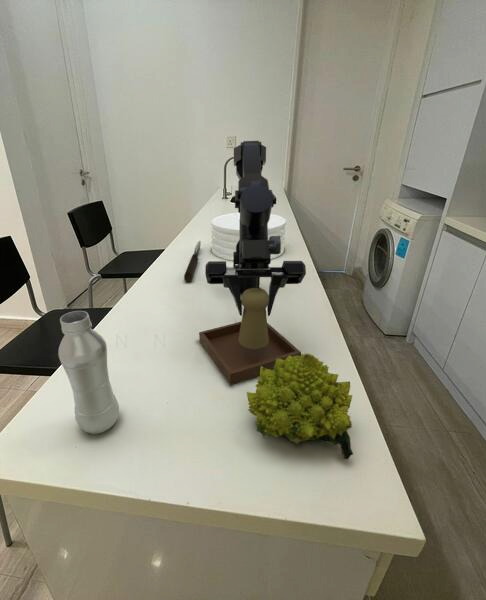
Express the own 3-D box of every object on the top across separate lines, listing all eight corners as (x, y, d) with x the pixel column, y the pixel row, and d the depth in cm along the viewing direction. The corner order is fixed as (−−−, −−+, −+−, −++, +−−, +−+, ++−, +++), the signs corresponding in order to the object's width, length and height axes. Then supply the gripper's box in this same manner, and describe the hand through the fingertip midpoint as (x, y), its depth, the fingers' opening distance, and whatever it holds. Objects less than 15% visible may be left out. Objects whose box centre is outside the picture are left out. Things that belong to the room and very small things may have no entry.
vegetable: (390, 453, 43) (335, 361, 40) (283, 493, 47) (227, 411, 45) (357, 391, 57) (315, 320, 54) (277, 426, 61) (234, 361, 59)
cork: (274, 344, 65) (278, 294, 59) (247, 352, 63) (248, 301, 58) (259, 329, 70) (261, 281, 64) (233, 335, 68) (233, 287, 63)
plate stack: (199, 246, 135) (198, 218, 130) (253, 235, 147) (254, 209, 142) (239, 267, 113) (239, 234, 108) (299, 251, 126) (302, 221, 120)
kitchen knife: (183, 267, 101) (184, 282, 103) (190, 267, 101) (191, 282, 103) (197, 235, 133) (198, 247, 135) (202, 235, 132) (203, 247, 135)
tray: (259, 325, 79) (260, 316, 78) (300, 362, 66) (301, 352, 65) (199, 341, 74) (198, 332, 73) (230, 385, 61) (230, 374, 60)
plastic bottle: (84, 410, 57) (56, 307, 47) (124, 406, 57) (104, 304, 48) (73, 441, 51) (39, 331, 42) (118, 437, 51) (94, 327, 42)
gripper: (204, 219, 60) (201, 302, 55) (309, 218, 58) (315, 303, 53) (208, 247, 70) (206, 318, 66) (298, 246, 69) (302, 319, 64)
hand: (254, 315), depth 62 cm, fingers closed on cork, 5 cm apart
